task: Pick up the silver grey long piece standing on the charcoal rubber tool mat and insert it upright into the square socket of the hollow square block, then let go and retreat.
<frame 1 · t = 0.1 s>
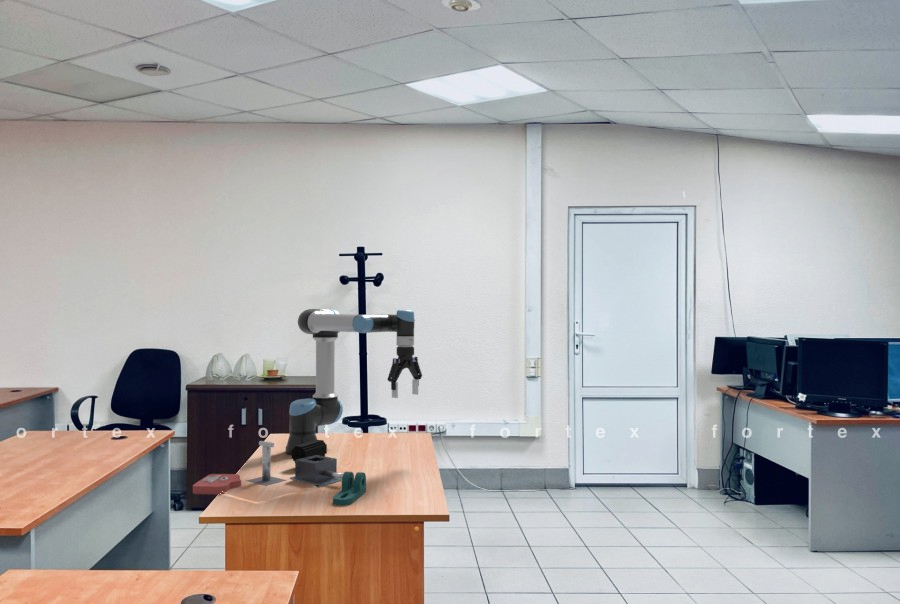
hand: (405, 396, 299), 28 cm above the table, fingers open, 13 cm apart
silver grey long piece: (266, 480, 264), point 1 cm above the table, touching tool mat
plaque: (220, 489, 256), on the table
security camera: (311, 467, 289), on the table
tool mat: (266, 482, 264), on the table
bracket: (348, 499, 243), on the table
hollow square block: (315, 480, 267), on the table
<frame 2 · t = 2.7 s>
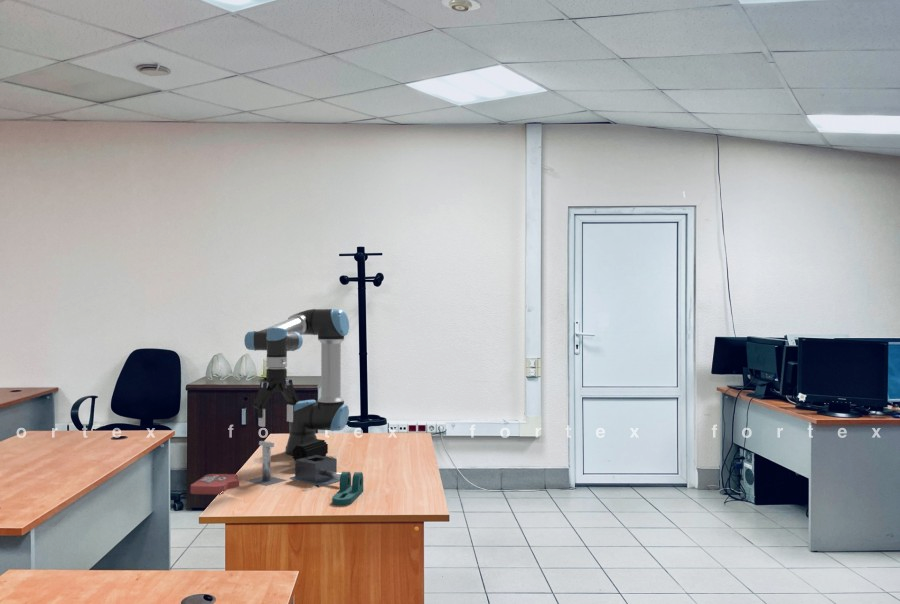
hand: (276, 424, 266), 22 cm above the table, fingers open, 13 cm apart
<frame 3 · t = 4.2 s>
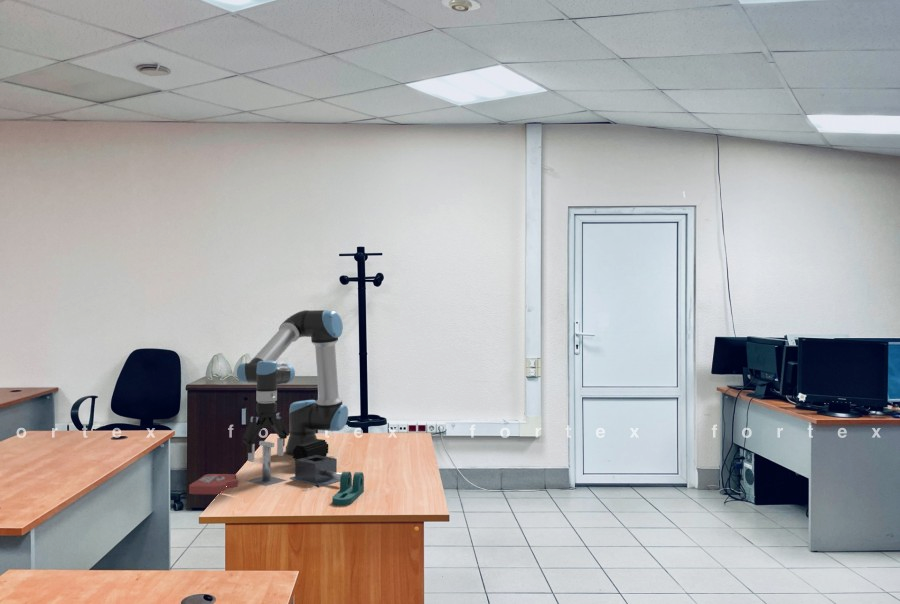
hand: (266, 458, 264), 9 cm above the table, fingers open, 13 cm apart
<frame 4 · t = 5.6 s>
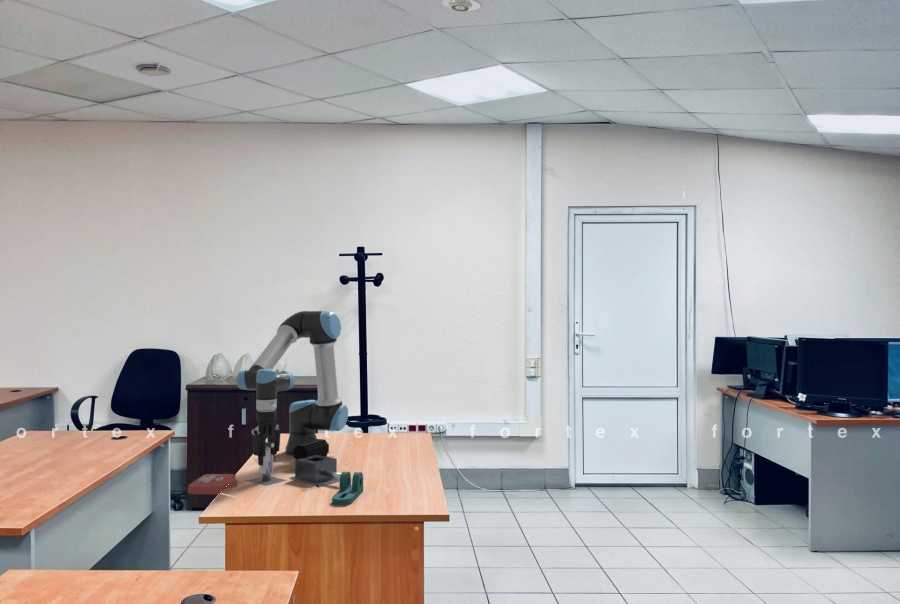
hand: (266, 472, 264), 4 cm above the table, fingers closed on silver grey long piece, 3 cm apart
silver grey long piece: (266, 480, 264), point 1 cm above the table, touching gripper
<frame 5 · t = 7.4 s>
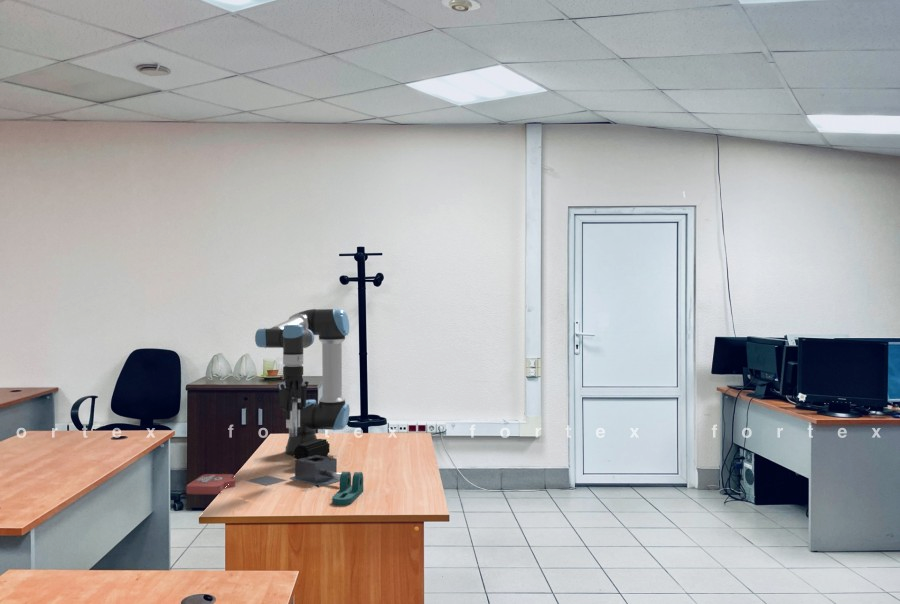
hand: (293, 427, 266), 20 cm above the table, fingers closed on silver grey long piece, 3 cm apart
silver grey long piece: (293, 435, 266), point 17 cm above the table, touching gripper
when the fingers open (9 cm above the table, at t = 9.7 s): silver grey long piece drops 4 cm, resting on hollow square block.
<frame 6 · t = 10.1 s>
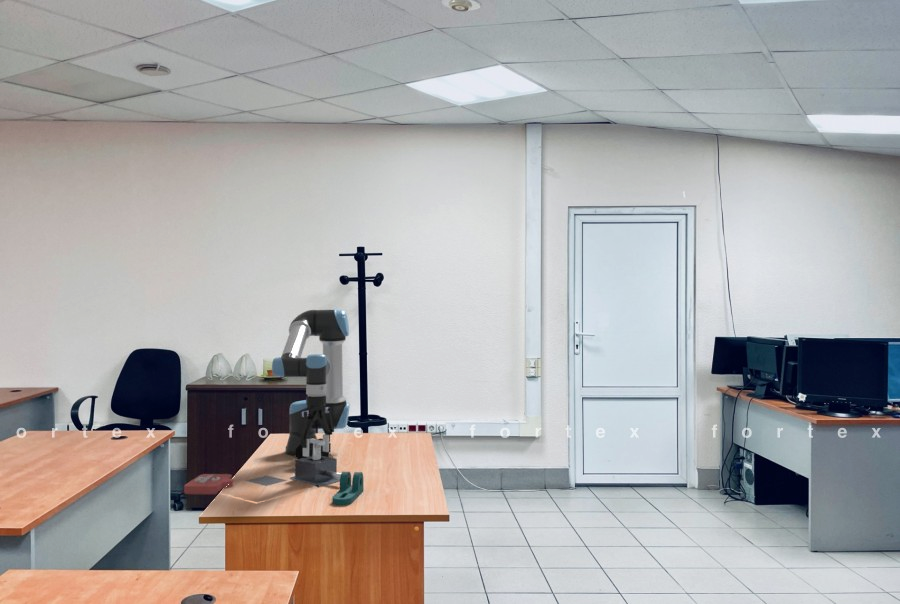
hand: (316, 453, 267), 10 cm above the table, fingers open, 9 cm apart
silver grey long piece: (316, 477, 267), point 1 cm above the table, touching hollow square block
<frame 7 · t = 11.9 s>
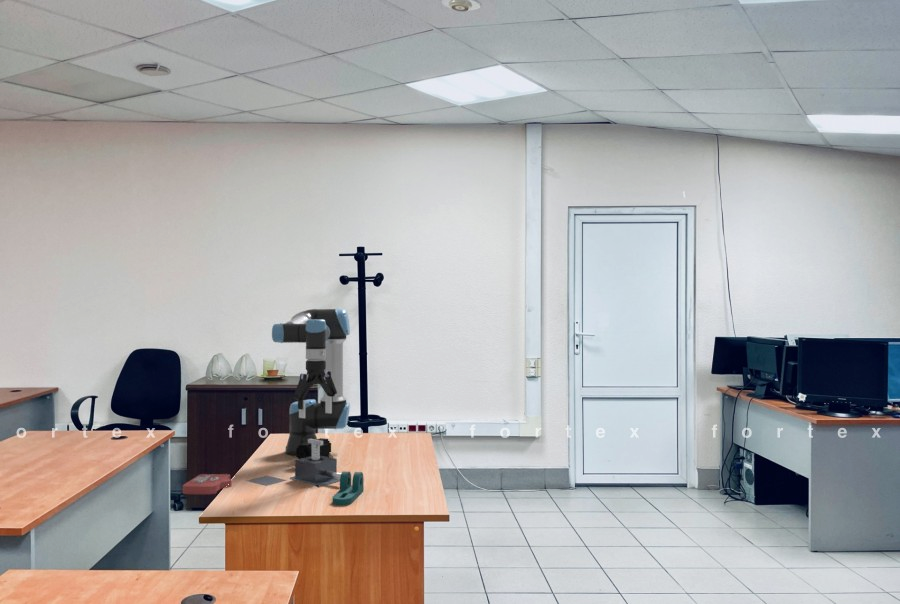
hand: (315, 415, 268), 25 cm above the table, fingers open, 13 cm apart
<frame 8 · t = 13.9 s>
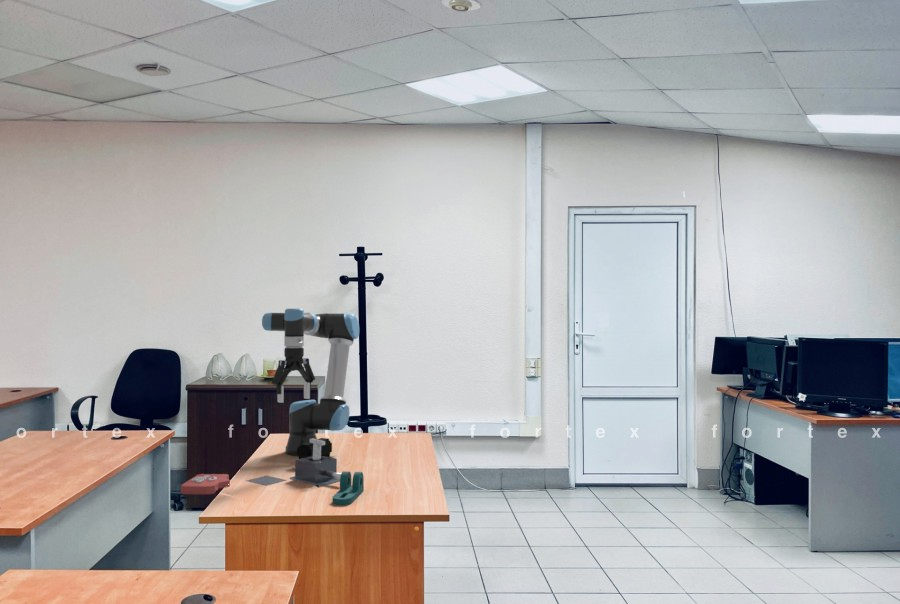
hand: (293, 400, 279), 29 cm above the table, fingers open, 13 cm apart
at the end: silver grey long piece 0.0 cm off-centre on the hollow square block, point 1.1 cm above the hollow square block's base; silver grey long piece tilted 3°; the gripper is holding nothing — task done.
